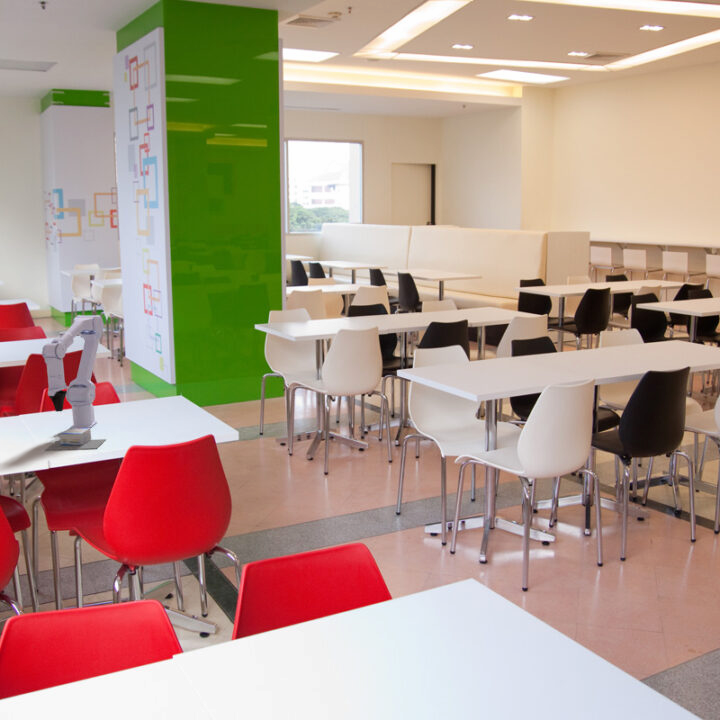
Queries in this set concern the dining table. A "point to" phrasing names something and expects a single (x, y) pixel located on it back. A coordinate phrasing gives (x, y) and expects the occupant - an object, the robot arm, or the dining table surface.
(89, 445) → the mat
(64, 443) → the medicine box
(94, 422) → the robot arm
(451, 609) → the dining table surface
